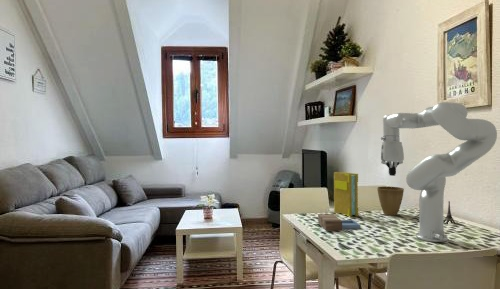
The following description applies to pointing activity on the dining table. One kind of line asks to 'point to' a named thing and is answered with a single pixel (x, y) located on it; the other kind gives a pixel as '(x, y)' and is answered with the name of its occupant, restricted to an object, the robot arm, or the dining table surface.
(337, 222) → the brown rectangular block
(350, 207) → the book
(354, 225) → the blue tray
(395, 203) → the plant pot
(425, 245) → the dining table surface
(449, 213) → the eiffel tower figurine
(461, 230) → the dining table surface
